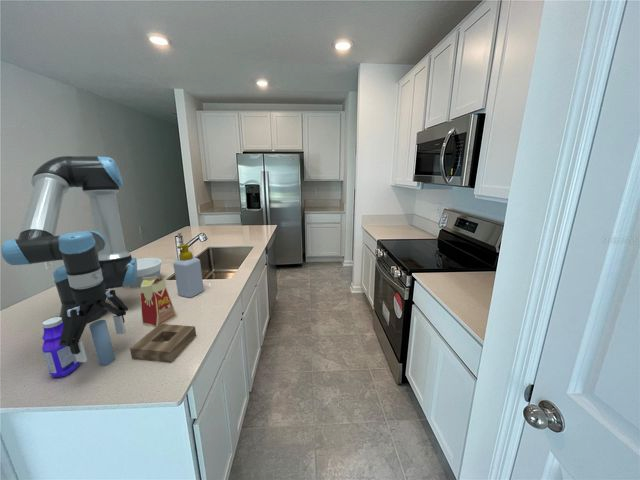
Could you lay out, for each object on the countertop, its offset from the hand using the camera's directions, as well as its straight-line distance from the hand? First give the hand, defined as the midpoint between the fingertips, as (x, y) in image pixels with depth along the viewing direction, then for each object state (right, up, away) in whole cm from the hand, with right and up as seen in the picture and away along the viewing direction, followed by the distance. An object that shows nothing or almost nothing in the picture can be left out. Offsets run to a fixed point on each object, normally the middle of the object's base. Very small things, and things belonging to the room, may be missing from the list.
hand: (103, 346), depth 84 cm
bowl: (-27, +10, +60) cm, 67 cm away
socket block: (+15, -4, +9) cm, 18 cm away
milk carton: (+3, +1, +25) cm, 25 cm away
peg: (0, -6, +2) cm, 6 cm away
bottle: (-10, -7, -2) cm, 12 cm away
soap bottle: (+5, +7, +48) cm, 49 cm away
